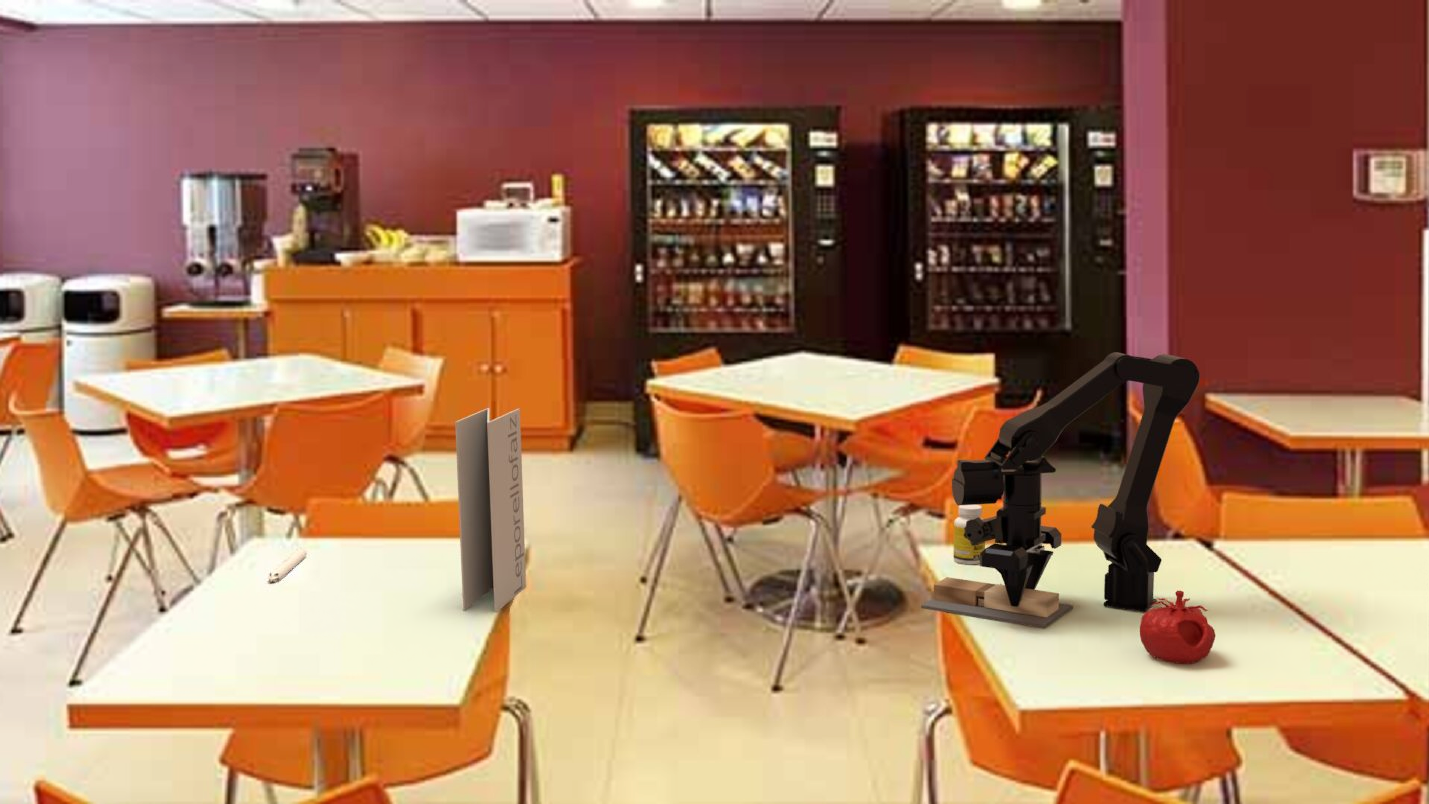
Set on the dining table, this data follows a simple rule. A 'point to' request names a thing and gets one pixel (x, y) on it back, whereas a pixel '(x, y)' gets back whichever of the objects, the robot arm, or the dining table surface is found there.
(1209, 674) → the dining table surface
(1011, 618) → the underlay mat
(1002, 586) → the birch plank
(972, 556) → the supplement bottle
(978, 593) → the wooden block
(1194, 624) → the pomegranate
